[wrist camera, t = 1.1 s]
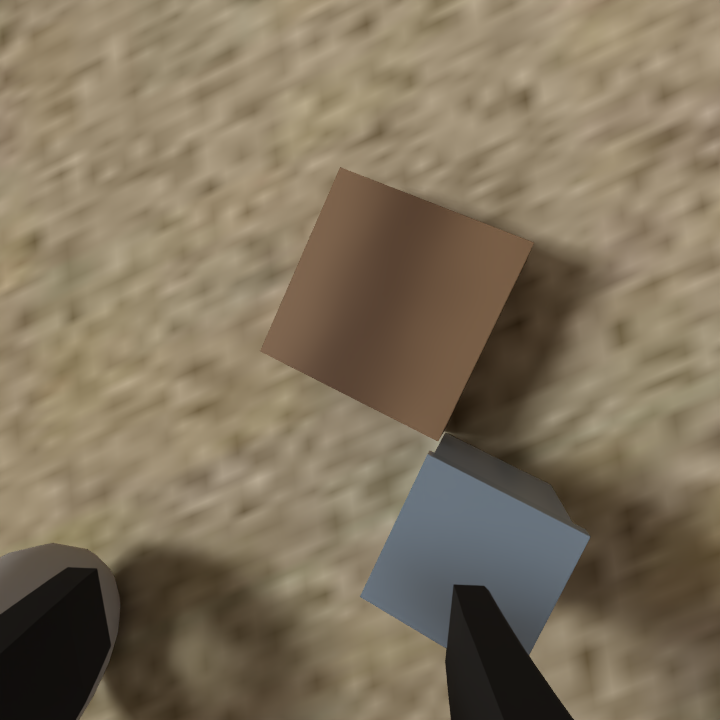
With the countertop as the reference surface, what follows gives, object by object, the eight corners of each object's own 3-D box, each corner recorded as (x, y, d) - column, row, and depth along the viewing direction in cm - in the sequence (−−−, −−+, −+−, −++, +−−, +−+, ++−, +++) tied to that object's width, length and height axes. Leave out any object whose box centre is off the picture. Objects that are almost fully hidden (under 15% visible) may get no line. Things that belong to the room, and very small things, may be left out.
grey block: (556, 482, 19) (590, 536, 13) (502, 589, 19) (512, 687, 13) (443, 427, 20) (427, 454, 14) (394, 529, 20) (360, 596, 14)
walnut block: (526, 261, 19) (534, 242, 16) (444, 430, 20) (438, 441, 17) (359, 194, 21) (340, 167, 18) (289, 353, 22) (259, 351, 19)
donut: (94, 503, 24) (-175, 600, 14) (154, 524, 23) (-87, 643, 13) (56, 698, 24) (-231, 923, 14) (114, 725, 23) (-149, 984, 14)
